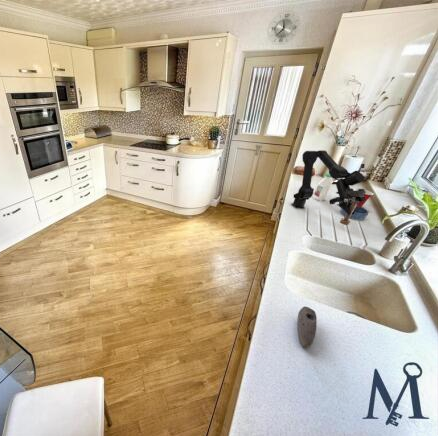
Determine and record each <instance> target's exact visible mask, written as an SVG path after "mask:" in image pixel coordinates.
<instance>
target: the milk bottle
mask: <svg viewBox="0 0 438 436" xmlns="http://www.w3.org/2000/svg"><path fill="white" fill-rule="evenodd" d="M331 179H333V178H332V177H331V176H330V174H329V173H325V174H324V177H323V178H322V180H320V181H319V183H318V184H317V185H316V186H317V187H316V188H315V191H314V192H313V195H312V198H313V199H314V200H317V201H321V202H322V201H324V200H325V199H326V197H327V195H328V193H329V190H330V189H331V186H332V181H331Z"/></svg>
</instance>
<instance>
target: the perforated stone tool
mask: <svg viewBox="0 0 438 436" xmlns="http://www.w3.org/2000/svg"><path fill="white" fill-rule="evenodd" d="M317 320H318V319H317V313H316V311H315V310H314V309H312V308H311V307H309V306H305V305H304V306H303V307H301V308H300V310H299V311H298V314H297V320H296V321H297V322H296V328H297V329H296V330H297V337H298V341H299V344H300V347H301V348H302V349H304V350H307V349H309V348H310V347H311V346H312V344H313V343H314V341H315V337H316V334H317V328H318V327H317V322H318V321H317Z"/></svg>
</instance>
